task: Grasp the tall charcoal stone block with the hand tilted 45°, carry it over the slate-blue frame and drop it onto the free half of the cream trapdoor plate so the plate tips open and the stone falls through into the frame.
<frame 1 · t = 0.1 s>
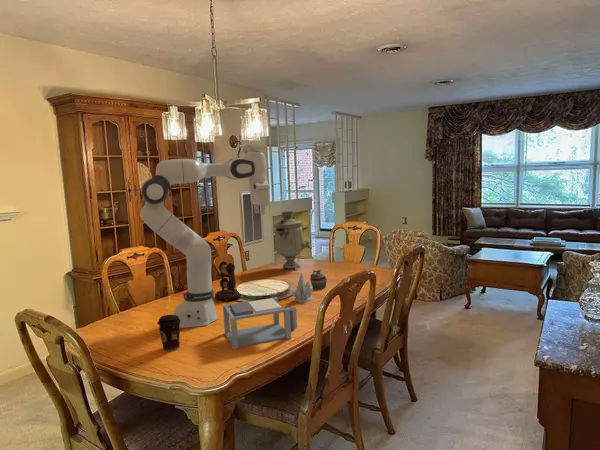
hand: (259, 213, 201), 48 cm above the table, tool pointing down, fingers open, 8 cm apart
crystal: (304, 299, 222), on the table
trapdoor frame: (253, 336, 174), on the table
cupcake: (319, 287, 243), on the table
coffee cup: (171, 349, 166), on the table
trapdoor: (255, 308, 173), point 12 cm above the table, hinge at 0.0°
samovar: (293, 269, 289), on the table
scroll: (228, 298, 230), on the table
stone: (291, 328, 181), on the table
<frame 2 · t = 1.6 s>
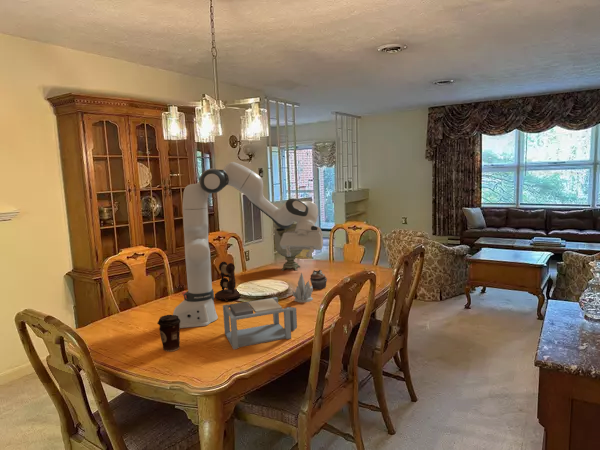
hand: (298, 256, 189), 30 cm above the table, tool tilted 45°, fingers open, 8 cm apart
nothing on the table moved.
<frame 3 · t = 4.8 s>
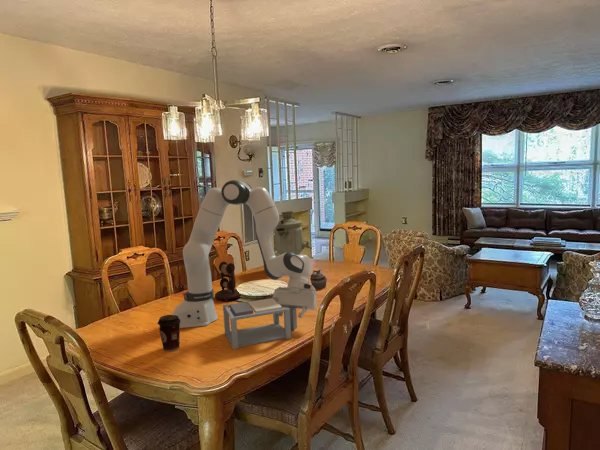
hand: (289, 316, 180), 6 cm above the table, tool tilted 45°, fingers open, 8 cm apart
nothing on the table moved.
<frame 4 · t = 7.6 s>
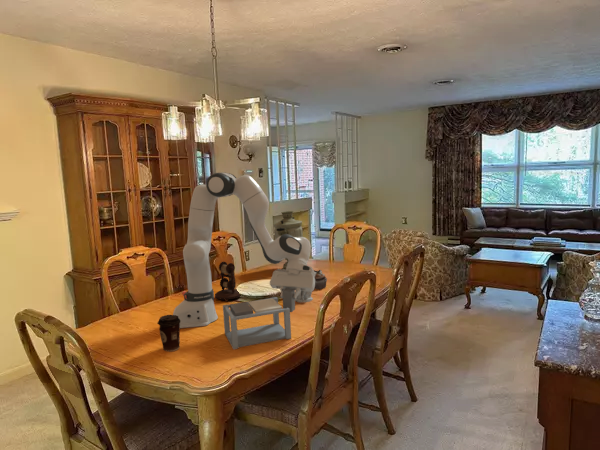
hand: (288, 297, 179), 14 cm above the table, tool tilted 45°, fingers closed on stone, 4 cm apart
stone: (289, 310, 180), point 8 cm above the table, touching gripper
everything else where it was.
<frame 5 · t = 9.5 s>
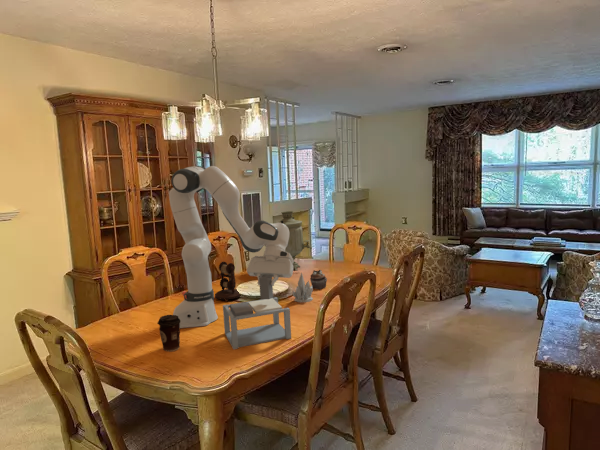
hand: (265, 284, 173), 22 cm above the table, tool tilted 45°, fingers closed on stone, 4 cm apart
stone: (266, 297, 175), point 16 cm above the table, touching gripper
everything else where it was.
when the fingers open (21 cm above the table, at t = 9.9 s): stone drops 6 cm and tips over, resting on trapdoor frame.
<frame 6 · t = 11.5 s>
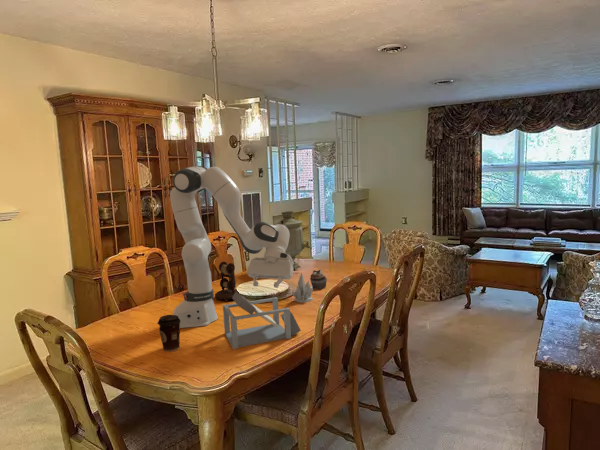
hand: (265, 286, 173), 21 cm above the table, tool tilted 45°, fingers open, 8 cm apart
trapdoor: (254, 310, 173), point 11 cm above the table, hinge at -41.0°
stone: (286, 314, 173), point 9 cm above the table, tilted 157°, touching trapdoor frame
everything else where it was.
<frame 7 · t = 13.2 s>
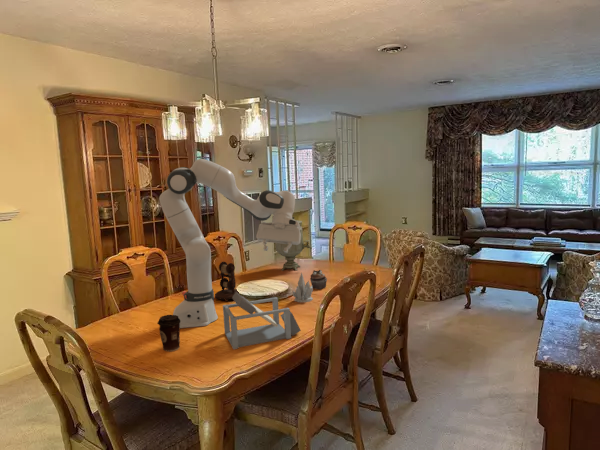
hand: (275, 251, 185), 33 cm above the table, tool tilted 35°, fingers open, 8 cm apart
nothing on the table moved.
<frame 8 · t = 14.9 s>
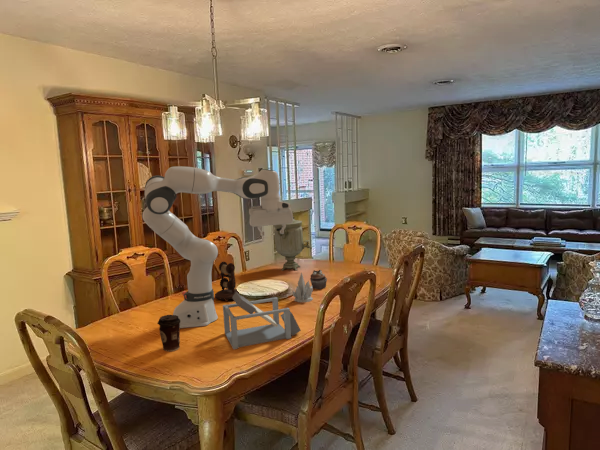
hand: (272, 234, 192), 39 cm above the table, tool pointing down, fingers open, 8 cm apart
nothing on the table moved.
at the end: stone point 9.1 cm above the table; stone 14.0 cm from the trapdoor (horizontally); stone moved 11.5 cm from its start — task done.
